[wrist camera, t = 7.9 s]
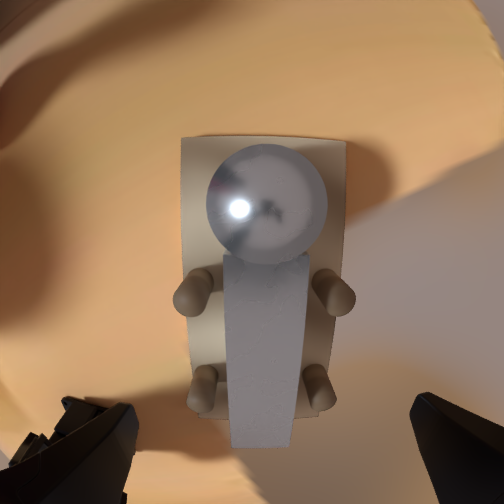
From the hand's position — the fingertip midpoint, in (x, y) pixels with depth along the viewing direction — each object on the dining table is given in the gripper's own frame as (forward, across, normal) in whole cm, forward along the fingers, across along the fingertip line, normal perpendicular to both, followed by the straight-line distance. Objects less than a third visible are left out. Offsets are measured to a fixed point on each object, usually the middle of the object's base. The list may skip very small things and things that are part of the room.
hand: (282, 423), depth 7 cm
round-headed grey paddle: (+9, 0, 0) cm, 9 cm away
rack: (+10, 0, 0) cm, 10 cm away
